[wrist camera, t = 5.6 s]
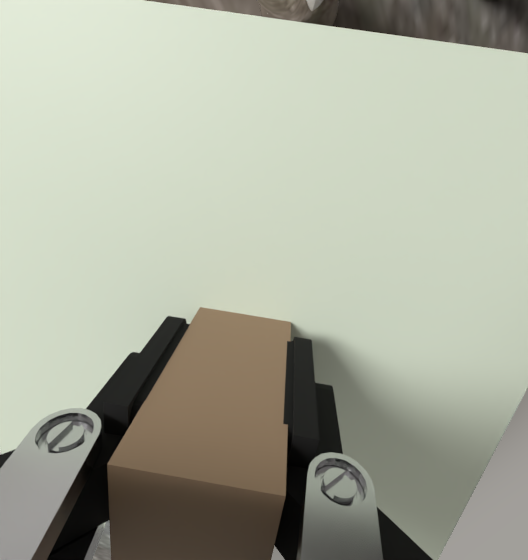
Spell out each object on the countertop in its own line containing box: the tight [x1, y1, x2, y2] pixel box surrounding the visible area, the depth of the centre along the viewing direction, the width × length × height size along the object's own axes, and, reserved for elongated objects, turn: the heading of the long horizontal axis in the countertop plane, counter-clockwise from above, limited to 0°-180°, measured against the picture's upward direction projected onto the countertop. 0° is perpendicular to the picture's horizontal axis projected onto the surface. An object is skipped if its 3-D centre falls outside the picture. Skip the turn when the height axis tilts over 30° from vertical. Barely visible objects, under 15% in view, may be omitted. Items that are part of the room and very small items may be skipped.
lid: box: [0, 0, 528, 560], centre depth 10 cm, size 19×19×7 cm
